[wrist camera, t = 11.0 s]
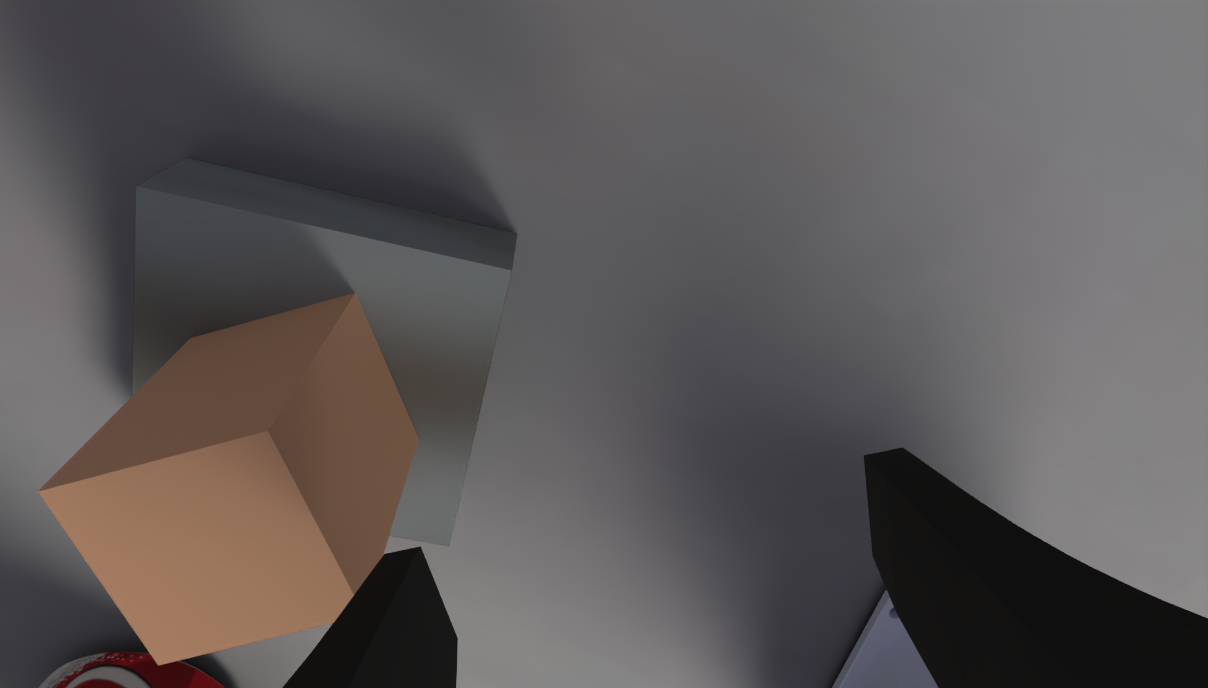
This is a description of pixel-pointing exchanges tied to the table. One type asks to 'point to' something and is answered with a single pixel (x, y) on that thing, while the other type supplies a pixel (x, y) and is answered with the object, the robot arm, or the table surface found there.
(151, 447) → the terracotta block
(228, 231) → the slate slab
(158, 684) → the soda can
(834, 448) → the table surface
